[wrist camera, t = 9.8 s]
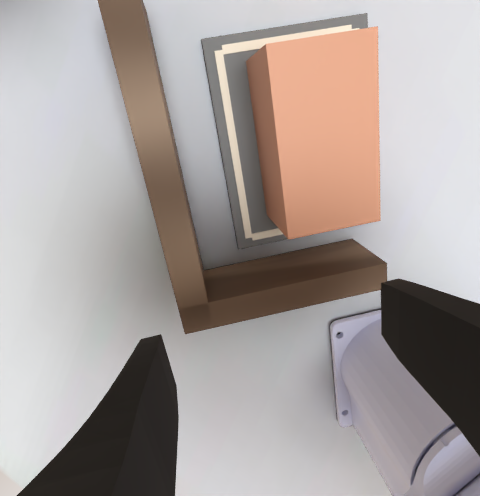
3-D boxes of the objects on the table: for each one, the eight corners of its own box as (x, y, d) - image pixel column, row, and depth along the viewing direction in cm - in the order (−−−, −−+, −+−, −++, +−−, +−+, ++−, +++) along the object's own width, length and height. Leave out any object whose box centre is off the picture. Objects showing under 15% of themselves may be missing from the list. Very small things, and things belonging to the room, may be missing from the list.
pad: (370, 220, 22) (373, 221, 22) (238, 247, 21) (238, 250, 21) (364, 14, 18) (368, 12, 18) (201, 40, 17) (201, 38, 17)
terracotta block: (332, 47, 18) (377, 26, 14) (340, 199, 21) (380, 220, 17) (245, 61, 18) (265, 44, 13) (266, 214, 20) (288, 239, 16)
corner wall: (353, 260, 23) (386, 288, 19) (184, 297, 22) (184, 334, 18) (340, -18, 17) (383, -54, 14) (114, 16, 16) (94, -14, 13)
